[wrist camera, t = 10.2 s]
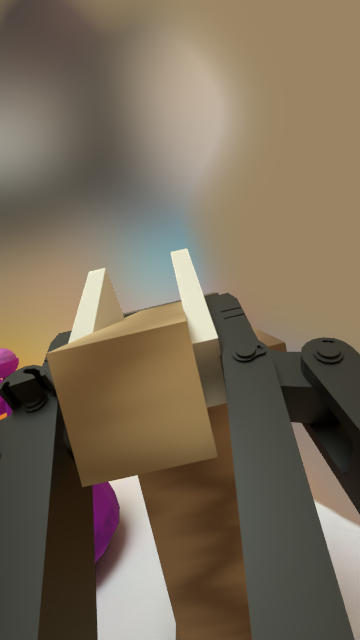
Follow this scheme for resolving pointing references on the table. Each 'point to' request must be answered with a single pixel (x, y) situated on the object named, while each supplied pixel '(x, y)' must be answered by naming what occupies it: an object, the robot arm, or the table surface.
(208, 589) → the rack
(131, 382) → the wooden handled hammer
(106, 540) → the decorative plant
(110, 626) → the table surface
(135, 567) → the table surface
